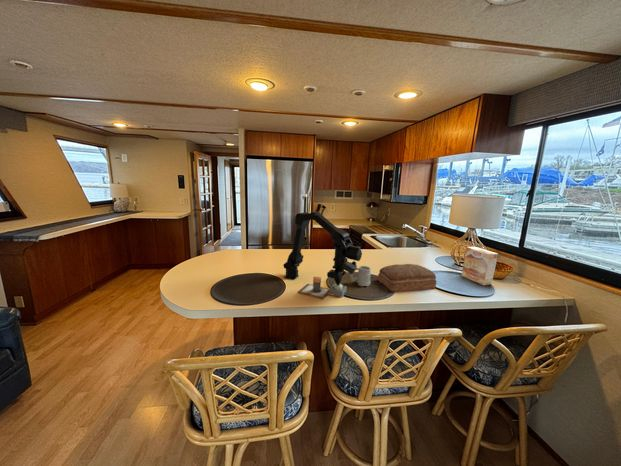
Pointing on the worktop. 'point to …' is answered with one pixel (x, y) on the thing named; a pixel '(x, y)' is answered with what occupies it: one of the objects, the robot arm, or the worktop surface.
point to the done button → (338, 286)
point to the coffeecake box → (479, 265)
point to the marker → (316, 284)
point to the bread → (407, 277)
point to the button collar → (337, 291)
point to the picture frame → (309, 291)
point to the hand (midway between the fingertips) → (338, 285)
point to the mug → (362, 276)
